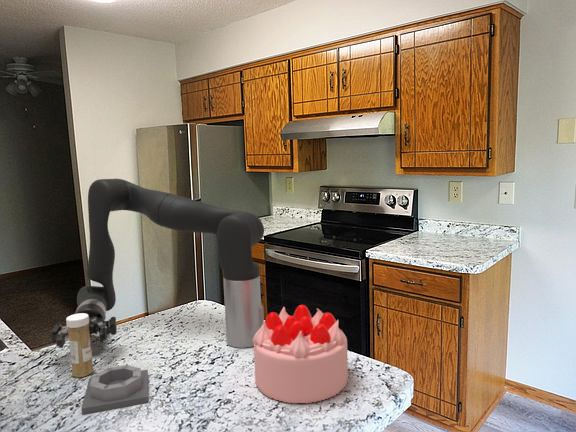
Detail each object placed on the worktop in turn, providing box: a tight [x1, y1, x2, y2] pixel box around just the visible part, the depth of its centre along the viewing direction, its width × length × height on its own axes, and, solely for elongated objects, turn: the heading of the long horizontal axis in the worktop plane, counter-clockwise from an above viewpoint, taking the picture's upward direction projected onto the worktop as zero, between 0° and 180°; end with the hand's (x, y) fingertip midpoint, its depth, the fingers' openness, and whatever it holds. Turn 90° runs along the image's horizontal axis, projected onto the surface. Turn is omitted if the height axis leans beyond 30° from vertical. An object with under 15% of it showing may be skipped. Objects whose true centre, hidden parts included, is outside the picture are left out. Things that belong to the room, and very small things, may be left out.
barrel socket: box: [80, 364, 149, 415], centre depth 92 cm, size 12×12×4 cm
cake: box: [253, 304, 349, 404], centre depth 95 cm, size 20×20×14 cm
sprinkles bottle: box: [65, 313, 95, 378], centre depth 100 cm, size 5×5×13 cm
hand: (81, 341), depth 102 cm, fingers open, 8 cm apart
